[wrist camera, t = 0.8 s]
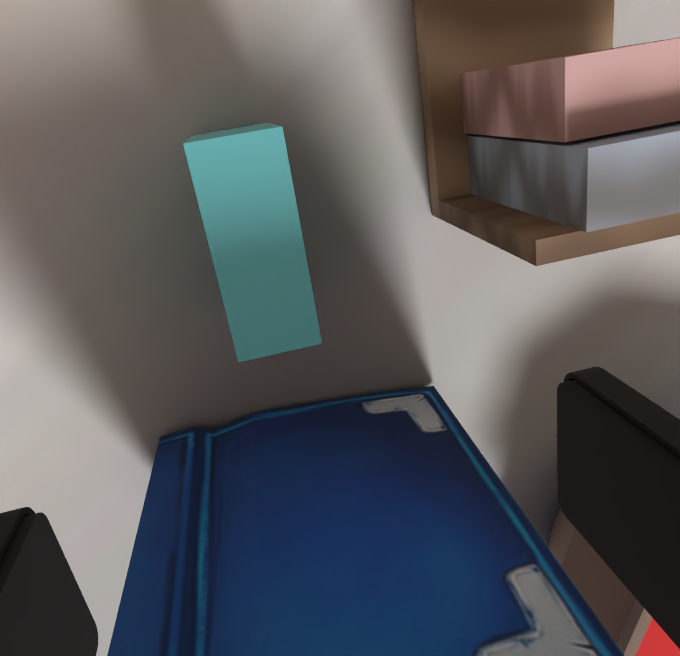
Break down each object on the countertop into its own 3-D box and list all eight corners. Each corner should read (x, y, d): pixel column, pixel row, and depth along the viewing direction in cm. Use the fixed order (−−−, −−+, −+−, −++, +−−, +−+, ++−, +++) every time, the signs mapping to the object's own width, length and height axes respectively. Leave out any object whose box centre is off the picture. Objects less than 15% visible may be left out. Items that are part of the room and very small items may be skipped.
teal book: (192, 135, 33) (182, 143, 25) (267, 122, 33) (282, 126, 25) (234, 306, 37) (238, 362, 29) (299, 292, 38) (322, 343, 29)
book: (159, 506, 41) (86, 991, 19) (140, 425, 39) (26, 875, 16) (435, 455, 45) (658, 813, 22) (434, 378, 42) (688, 693, 19)
